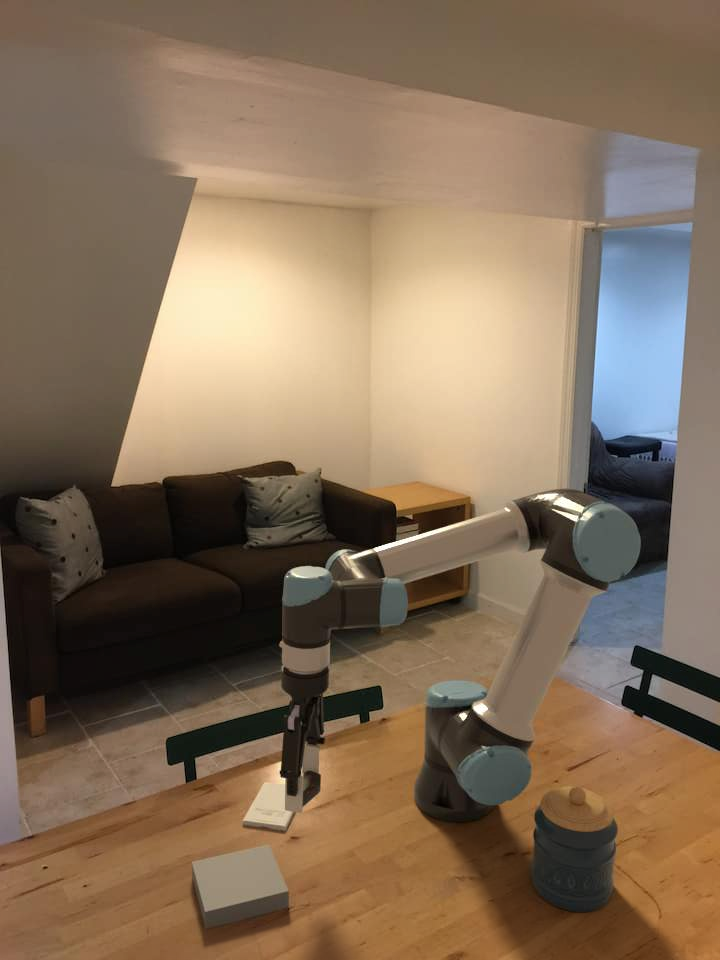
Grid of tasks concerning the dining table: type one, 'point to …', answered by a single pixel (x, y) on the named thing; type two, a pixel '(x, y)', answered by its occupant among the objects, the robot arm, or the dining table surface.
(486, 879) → the dining table surface
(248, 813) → the external hard drive
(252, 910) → the stand
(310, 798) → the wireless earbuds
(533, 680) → the robot arm
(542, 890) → the canister
